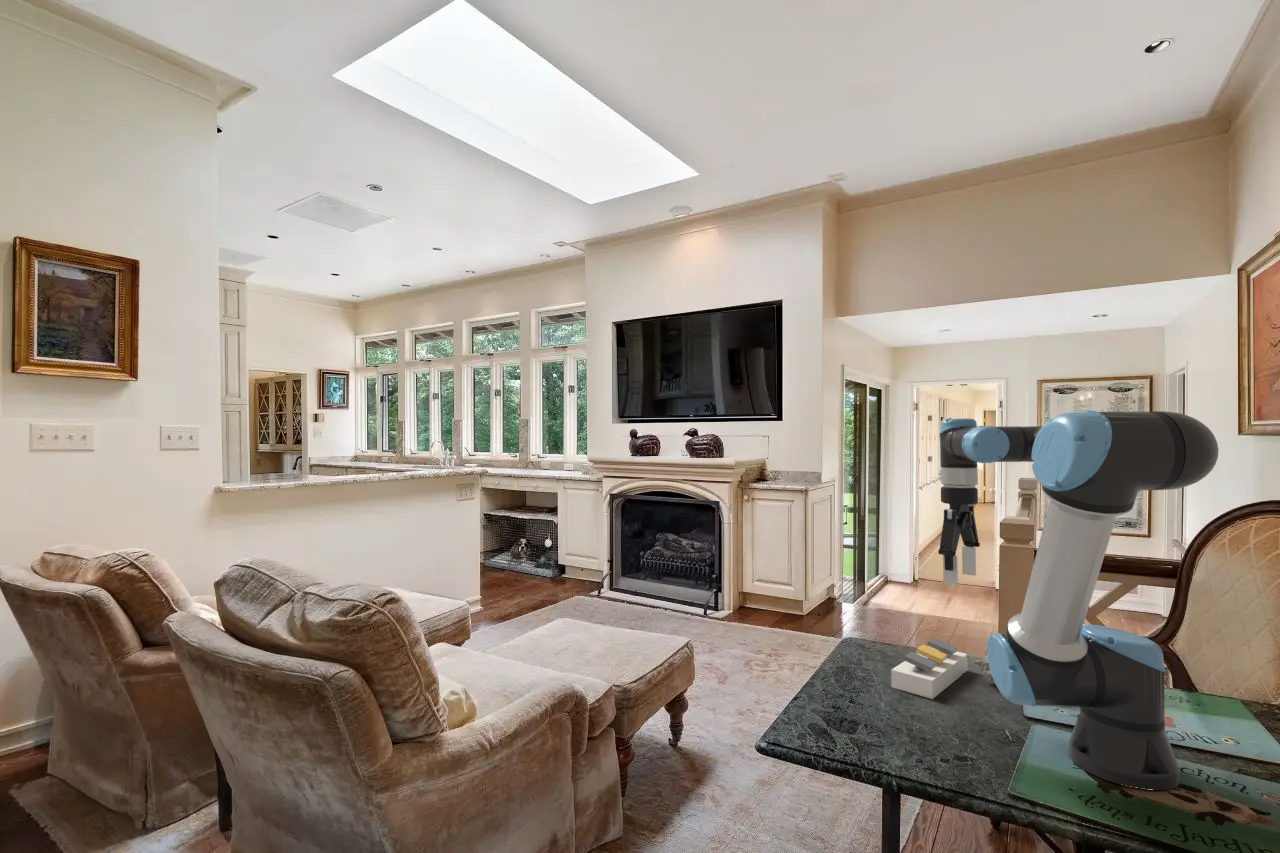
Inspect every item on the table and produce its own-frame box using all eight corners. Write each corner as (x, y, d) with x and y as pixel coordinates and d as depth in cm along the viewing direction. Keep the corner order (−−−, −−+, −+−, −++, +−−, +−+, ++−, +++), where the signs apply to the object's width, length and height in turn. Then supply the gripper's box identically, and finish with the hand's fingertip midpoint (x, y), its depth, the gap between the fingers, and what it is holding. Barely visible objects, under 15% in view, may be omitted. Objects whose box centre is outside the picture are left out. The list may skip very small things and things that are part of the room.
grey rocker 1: (935, 667, 140) (936, 662, 140) (928, 671, 137) (929, 667, 137) (910, 655, 144) (911, 651, 144) (903, 660, 141) (904, 655, 141)
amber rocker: (946, 659, 145) (947, 654, 145) (940, 663, 142) (941, 659, 142) (922, 648, 149) (923, 644, 149) (915, 652, 146) (916, 648, 146)
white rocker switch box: (974, 665, 154) (973, 644, 154) (932, 699, 134) (932, 675, 134) (936, 656, 160) (936, 636, 160) (891, 687, 141) (891, 664, 141)
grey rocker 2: (956, 651, 150) (957, 647, 150) (950, 655, 147) (951, 651, 147) (933, 641, 154) (934, 637, 154) (927, 645, 151) (928, 641, 151)
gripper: (958, 482, 152) (959, 568, 152) (922, 488, 134) (923, 586, 133) (992, 483, 147) (993, 573, 146) (959, 490, 129) (961, 592, 128)
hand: (960, 579), depth 140 cm, fingers open, 13 cm apart
